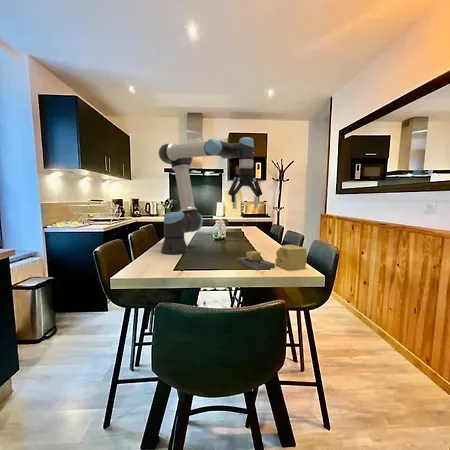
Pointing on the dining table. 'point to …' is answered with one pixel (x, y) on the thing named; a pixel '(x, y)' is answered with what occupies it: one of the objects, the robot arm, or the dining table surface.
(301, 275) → the dining table surface
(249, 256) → the yellow cube
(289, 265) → the cheese
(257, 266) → the metal plate
